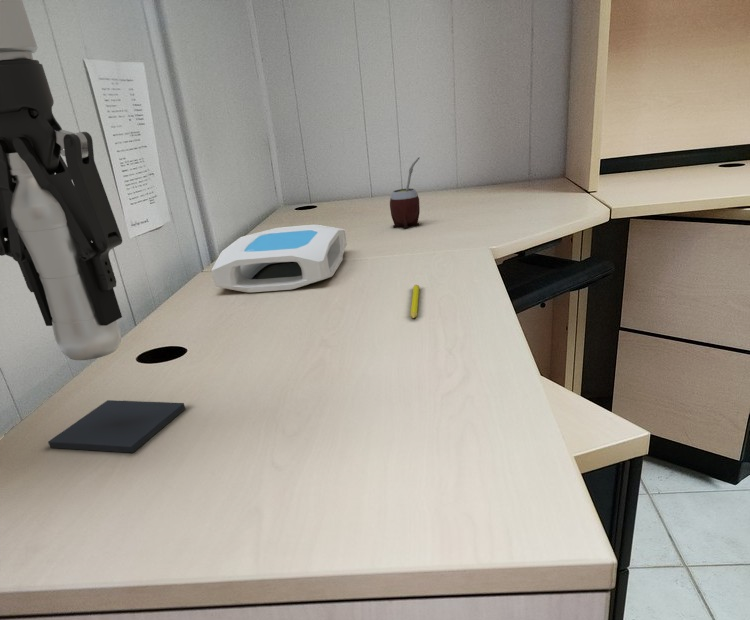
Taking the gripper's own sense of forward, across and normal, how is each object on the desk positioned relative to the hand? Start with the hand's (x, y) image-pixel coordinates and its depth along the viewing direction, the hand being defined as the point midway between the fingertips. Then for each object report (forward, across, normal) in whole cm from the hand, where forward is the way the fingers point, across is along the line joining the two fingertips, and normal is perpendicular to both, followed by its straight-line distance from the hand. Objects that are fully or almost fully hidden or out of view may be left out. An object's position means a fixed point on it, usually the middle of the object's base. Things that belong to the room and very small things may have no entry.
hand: (84, 321), depth 70 cm
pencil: (+13, +24, +46) cm, 53 cm away
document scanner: (+13, -8, +68) cm, 70 cm away
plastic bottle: (+4, 0, 0) cm, 4 cm away
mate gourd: (+13, +7, +108) cm, 109 cm away
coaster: (+13, 0, 0) cm, 13 cm away
